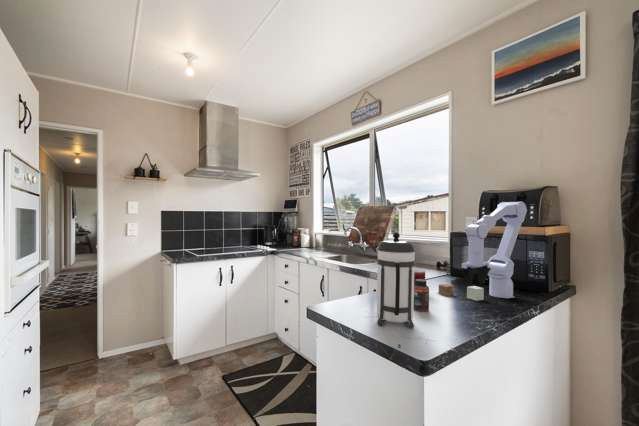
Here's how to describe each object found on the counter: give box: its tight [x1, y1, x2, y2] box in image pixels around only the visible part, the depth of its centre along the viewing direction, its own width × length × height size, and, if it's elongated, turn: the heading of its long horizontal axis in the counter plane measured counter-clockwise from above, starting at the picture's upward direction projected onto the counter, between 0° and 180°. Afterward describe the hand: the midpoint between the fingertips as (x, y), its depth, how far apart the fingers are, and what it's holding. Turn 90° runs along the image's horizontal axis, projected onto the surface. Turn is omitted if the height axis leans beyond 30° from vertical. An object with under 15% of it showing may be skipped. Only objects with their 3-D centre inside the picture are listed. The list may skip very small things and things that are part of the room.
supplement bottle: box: [413, 279, 430, 313], centre depth 115 cm, size 6×6×11 cm
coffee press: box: [376, 232, 417, 329], centre depth 100 cm, size 17×16×30 cm
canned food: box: [414, 268, 426, 285], centre depth 137 cm, size 8×8×11 cm
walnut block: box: [438, 283, 455, 297], centre depth 135 cm, size 4×4×4 cm
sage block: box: [466, 285, 485, 302], centre depth 129 cm, size 4×4×5 cm
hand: (475, 284), depth 128 cm, fingers open, 7 cm apart
